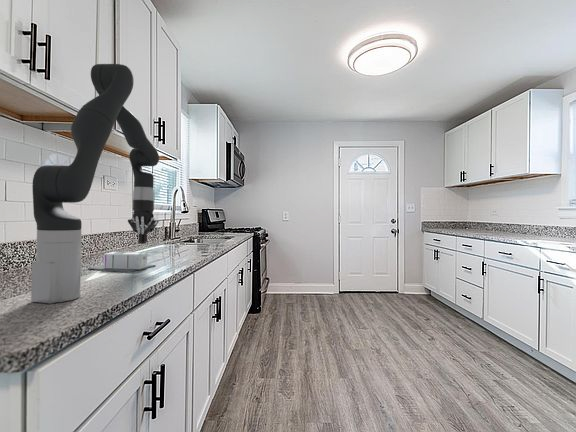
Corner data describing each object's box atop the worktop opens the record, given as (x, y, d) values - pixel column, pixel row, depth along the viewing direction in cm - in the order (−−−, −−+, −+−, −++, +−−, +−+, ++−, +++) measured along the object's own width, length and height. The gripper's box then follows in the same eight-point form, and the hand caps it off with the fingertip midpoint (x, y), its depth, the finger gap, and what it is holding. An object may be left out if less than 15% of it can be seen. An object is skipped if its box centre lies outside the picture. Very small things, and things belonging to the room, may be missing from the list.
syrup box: (141, 254, 126) (103, 252, 126) (140, 269, 126) (102, 268, 126) (147, 252, 132) (111, 251, 132) (147, 267, 132) (111, 266, 132)
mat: (127, 272, 122) (127, 270, 122) (87, 269, 127) (87, 267, 127) (155, 266, 138) (155, 264, 138) (119, 263, 142) (119, 262, 142)
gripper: (122, 198, 128) (121, 243, 128) (151, 198, 124) (150, 245, 124) (136, 199, 135) (135, 242, 135) (164, 199, 132) (163, 243, 132)
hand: (142, 243), depth 130 cm, fingers closed
